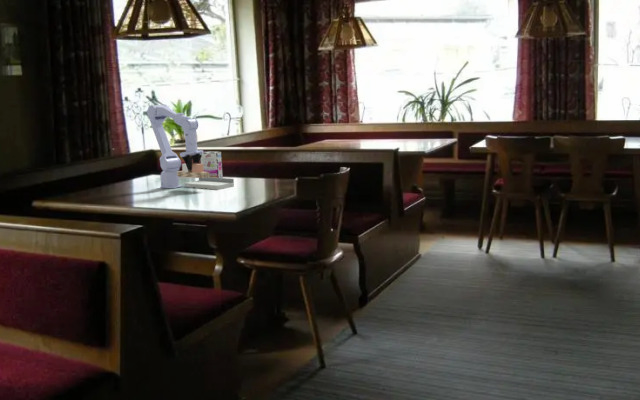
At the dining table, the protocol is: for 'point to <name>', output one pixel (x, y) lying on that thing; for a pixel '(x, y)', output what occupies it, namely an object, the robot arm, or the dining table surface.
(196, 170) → the salmon pink cube
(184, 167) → the white cube
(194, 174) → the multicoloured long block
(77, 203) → the dining table surface
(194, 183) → the dock
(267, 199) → the dining table surface
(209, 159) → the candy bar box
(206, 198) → the dining table surface
